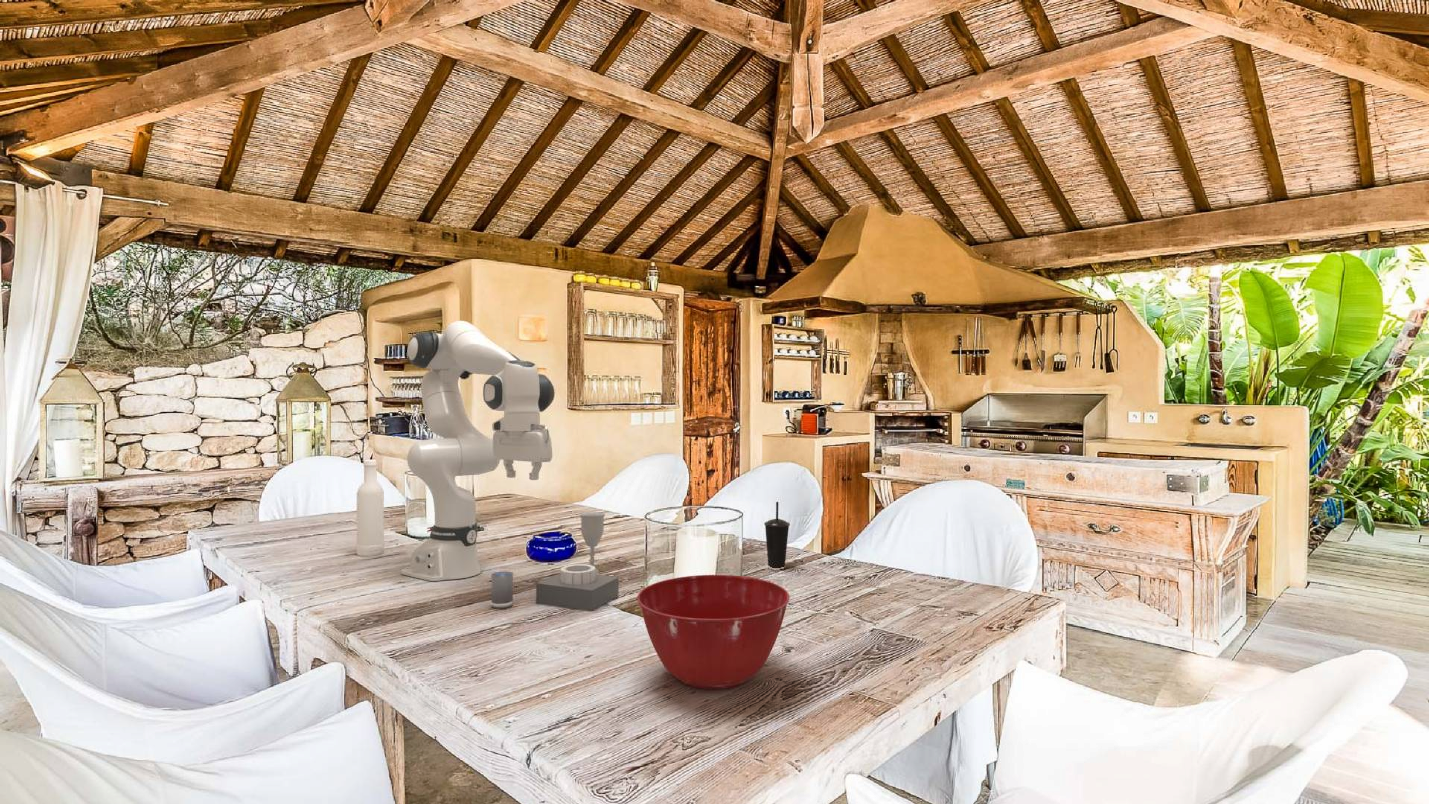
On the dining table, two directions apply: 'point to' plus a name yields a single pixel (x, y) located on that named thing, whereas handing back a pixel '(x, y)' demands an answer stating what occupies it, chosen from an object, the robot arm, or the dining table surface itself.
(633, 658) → the dining table surface
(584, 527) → the chalice
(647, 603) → the mixing bowl
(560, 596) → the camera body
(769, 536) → the drinking cup
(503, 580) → the lens
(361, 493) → the bottle
